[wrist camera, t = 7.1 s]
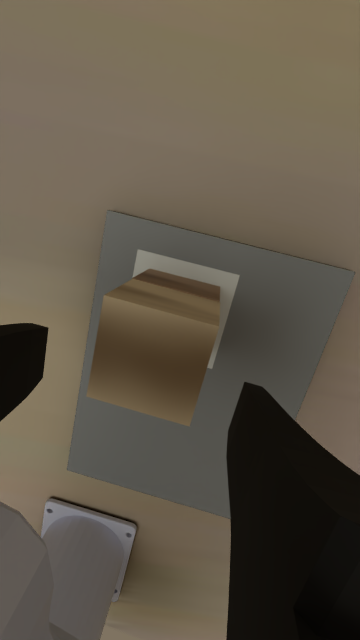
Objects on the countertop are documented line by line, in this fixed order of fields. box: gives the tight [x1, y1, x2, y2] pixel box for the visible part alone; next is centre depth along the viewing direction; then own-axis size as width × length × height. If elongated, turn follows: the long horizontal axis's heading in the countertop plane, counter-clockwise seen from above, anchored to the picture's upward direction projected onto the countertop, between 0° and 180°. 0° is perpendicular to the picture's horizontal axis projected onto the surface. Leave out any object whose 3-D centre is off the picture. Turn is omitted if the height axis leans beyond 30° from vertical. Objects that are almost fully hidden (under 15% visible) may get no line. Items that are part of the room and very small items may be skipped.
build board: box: [67, 210, 355, 519], centre depth 22 cm, size 20×15×1 cm
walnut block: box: [132, 268, 220, 302], centre depth 18 cm, size 4×4×4 cm
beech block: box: [86, 279, 220, 427], centre depth 14 cm, size 4×4×4 cm
